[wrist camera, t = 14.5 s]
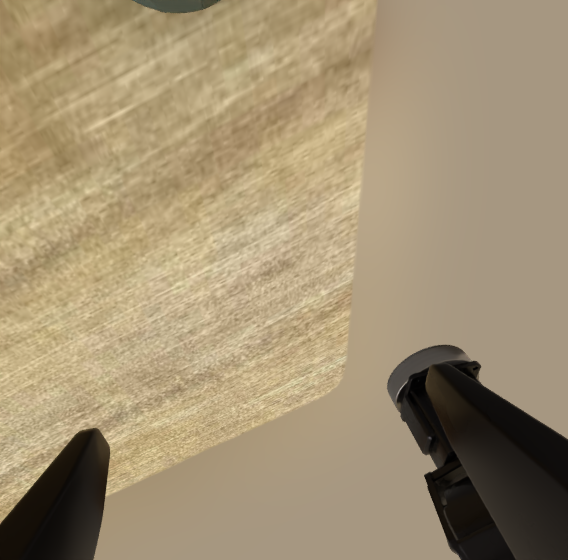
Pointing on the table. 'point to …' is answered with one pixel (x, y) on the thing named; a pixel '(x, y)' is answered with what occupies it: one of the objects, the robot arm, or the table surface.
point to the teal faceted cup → (177, 5)
